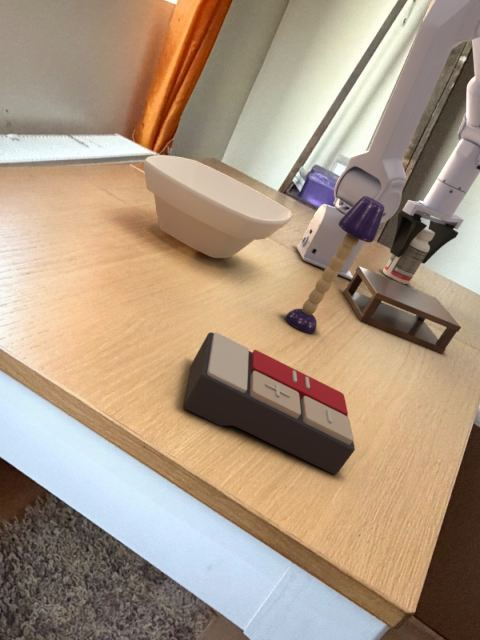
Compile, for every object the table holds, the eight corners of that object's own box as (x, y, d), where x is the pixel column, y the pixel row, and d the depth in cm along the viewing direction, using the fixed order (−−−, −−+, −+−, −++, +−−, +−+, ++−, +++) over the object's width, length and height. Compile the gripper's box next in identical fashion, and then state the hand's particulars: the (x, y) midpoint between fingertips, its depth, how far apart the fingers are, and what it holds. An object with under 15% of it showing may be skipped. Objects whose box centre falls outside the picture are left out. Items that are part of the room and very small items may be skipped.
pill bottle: (412, 286, 142) (444, 237, 137) (397, 283, 139) (429, 233, 134) (391, 272, 145) (421, 223, 140) (376, 270, 142) (406, 219, 137)
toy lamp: (319, 329, 99) (391, 205, 90) (317, 340, 95) (392, 212, 86) (286, 313, 99) (354, 188, 90) (283, 323, 95) (354, 193, 86)
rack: (360, 320, 110) (377, 292, 107) (342, 292, 119) (358, 265, 117) (442, 353, 112) (461, 327, 109) (419, 323, 122) (436, 297, 119)
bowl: (277, 270, 115) (306, 216, 110) (229, 288, 99) (260, 225, 94) (167, 209, 120) (189, 154, 115) (104, 216, 104) (127, 153, 99)
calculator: (361, 444, 64) (205, 367, 63) (332, 481, 67) (182, 408, 66) (349, 391, 73) (212, 323, 72) (324, 426, 76) (192, 361, 75)
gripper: (459, 185, 139) (416, 254, 146) (411, 167, 131) (368, 242, 139) (487, 200, 134) (441, 271, 142) (439, 183, 126) (393, 259, 134)
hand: (407, 258), depth 140 cm, fingers open, 7 cm apart
